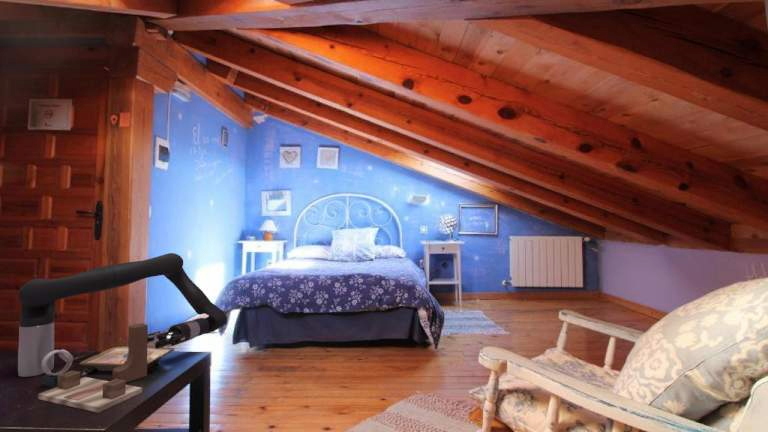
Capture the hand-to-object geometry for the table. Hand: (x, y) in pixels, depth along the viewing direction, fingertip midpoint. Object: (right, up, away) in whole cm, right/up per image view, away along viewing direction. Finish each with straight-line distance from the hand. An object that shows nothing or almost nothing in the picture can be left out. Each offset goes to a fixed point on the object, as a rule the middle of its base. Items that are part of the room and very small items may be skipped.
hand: (146, 344), depth 131 cm
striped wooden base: (-6, -10, -18) cm, 21 cm away
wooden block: (-2, -10, -6) cm, 12 cm away
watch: (-24, -10, -9) cm, 28 cm away
